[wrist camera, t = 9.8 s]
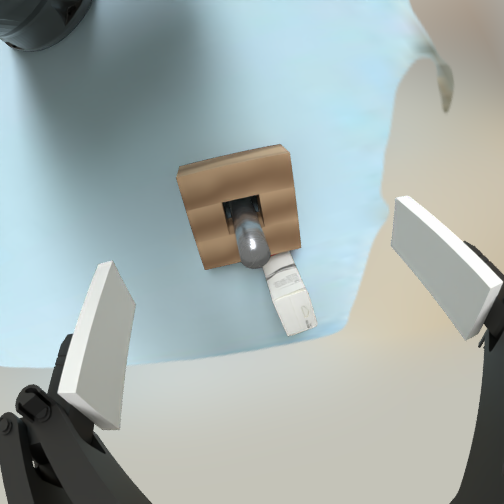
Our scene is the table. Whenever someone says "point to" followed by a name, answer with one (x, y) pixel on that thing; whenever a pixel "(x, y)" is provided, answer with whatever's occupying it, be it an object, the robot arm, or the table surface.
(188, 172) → the socket block
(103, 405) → the robot arm
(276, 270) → the ink box
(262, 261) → the peg
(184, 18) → the table surface
